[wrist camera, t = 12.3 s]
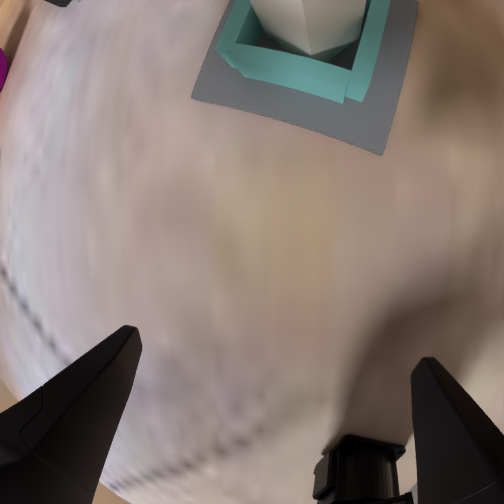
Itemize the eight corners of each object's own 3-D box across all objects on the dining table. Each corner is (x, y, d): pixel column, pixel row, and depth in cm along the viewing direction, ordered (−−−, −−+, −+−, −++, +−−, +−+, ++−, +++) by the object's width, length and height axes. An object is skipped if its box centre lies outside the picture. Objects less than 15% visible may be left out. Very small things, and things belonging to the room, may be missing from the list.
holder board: (416, 7, 12) (429, -21, 9) (380, 155, 16) (394, 148, 12) (251, -32, 14) (237, -61, 10) (195, 100, 17) (167, 84, 14)
